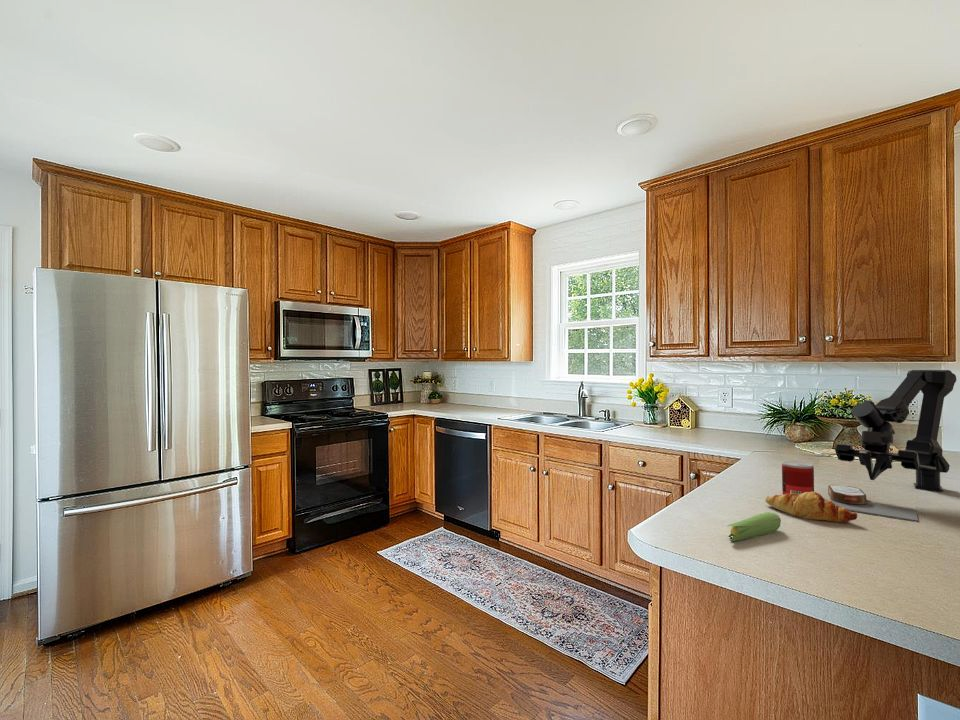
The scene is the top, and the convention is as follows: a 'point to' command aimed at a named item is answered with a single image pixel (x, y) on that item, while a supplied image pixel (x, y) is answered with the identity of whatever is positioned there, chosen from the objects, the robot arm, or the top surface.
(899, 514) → the mat
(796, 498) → the croissant
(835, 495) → the tin
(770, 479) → the top surface
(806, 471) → the canned food
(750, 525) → the edible corn
